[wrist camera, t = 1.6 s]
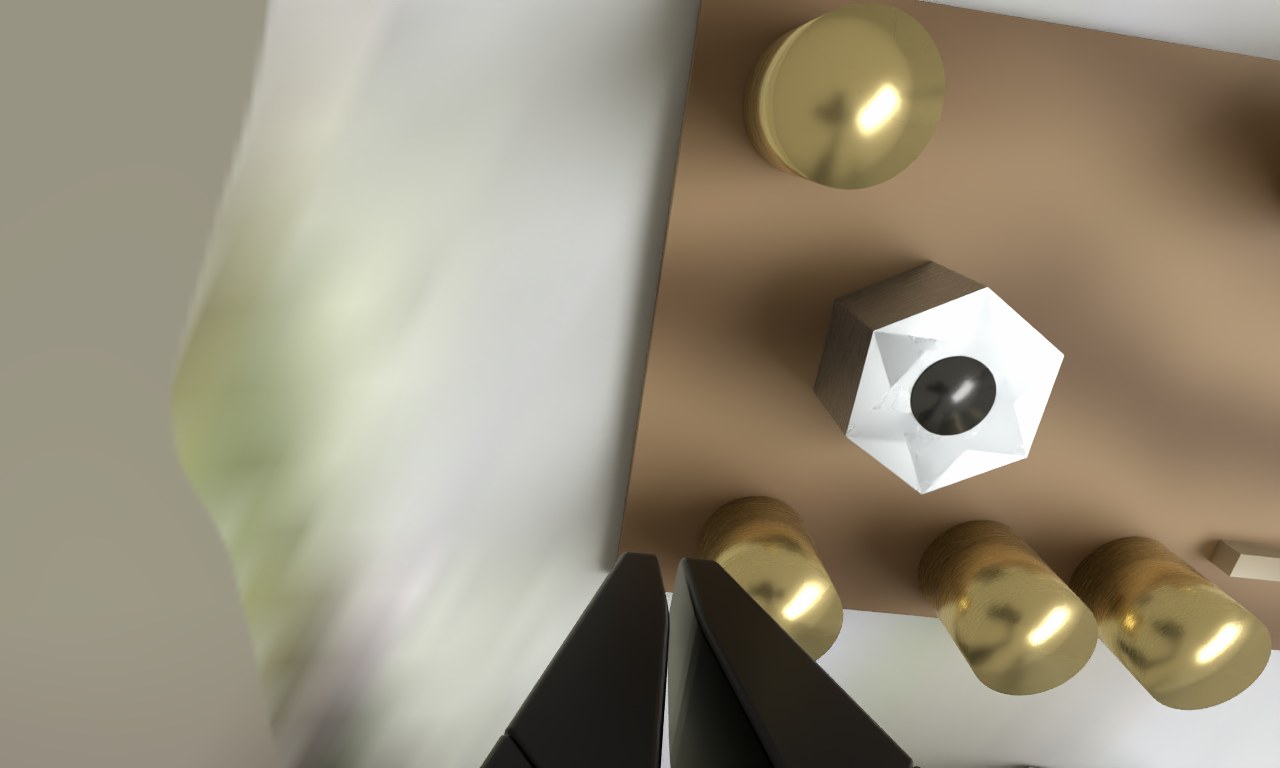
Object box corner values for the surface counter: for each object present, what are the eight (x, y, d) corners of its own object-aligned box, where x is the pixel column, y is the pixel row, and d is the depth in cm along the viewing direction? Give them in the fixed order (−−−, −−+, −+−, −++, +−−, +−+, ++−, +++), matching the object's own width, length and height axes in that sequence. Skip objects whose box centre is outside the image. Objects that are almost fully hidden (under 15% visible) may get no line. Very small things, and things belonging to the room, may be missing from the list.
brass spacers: (1179, 633, 23) (1270, 717, 20) (657, 583, 22) (664, 664, 19) (1444, 102, 18) (1632, 99, 14) (761, -11, 16) (798, -42, 13)
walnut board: (1305, 641, 24) (1344, 671, 23) (614, 575, 23) (614, 603, 21) (1608, 120, 19) (1683, 121, 17) (704, -30, 17) (712, -42, 15)
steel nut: (956, 451, 21) (1010, 504, 18) (802, 433, 20) (833, 485, 17) (1014, 272, 19) (1085, 300, 16) (846, 249, 18) (889, 274, 16)
